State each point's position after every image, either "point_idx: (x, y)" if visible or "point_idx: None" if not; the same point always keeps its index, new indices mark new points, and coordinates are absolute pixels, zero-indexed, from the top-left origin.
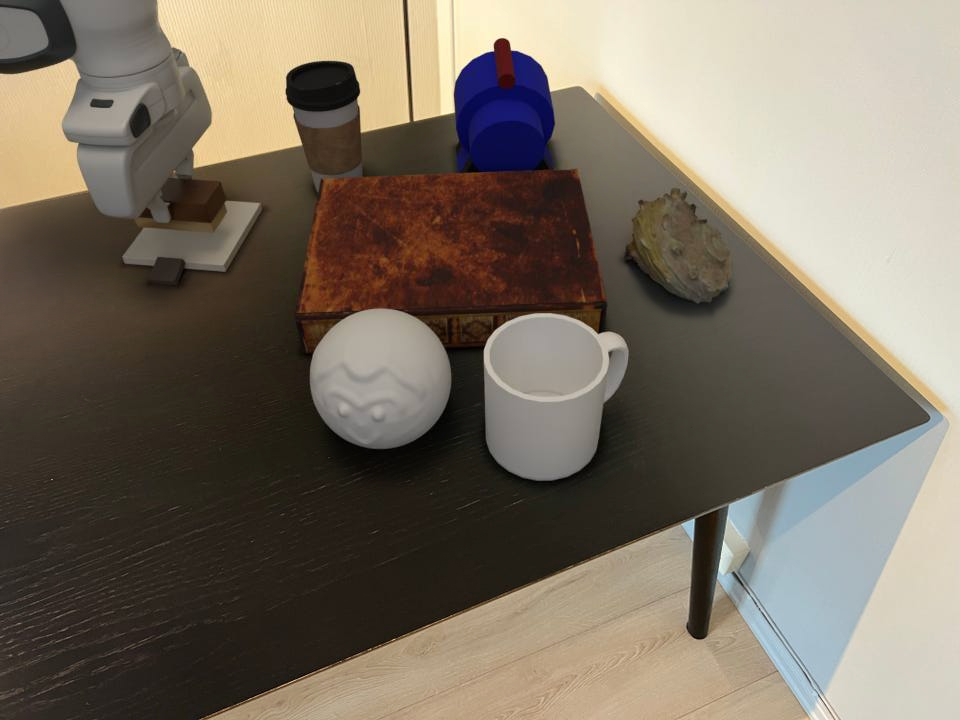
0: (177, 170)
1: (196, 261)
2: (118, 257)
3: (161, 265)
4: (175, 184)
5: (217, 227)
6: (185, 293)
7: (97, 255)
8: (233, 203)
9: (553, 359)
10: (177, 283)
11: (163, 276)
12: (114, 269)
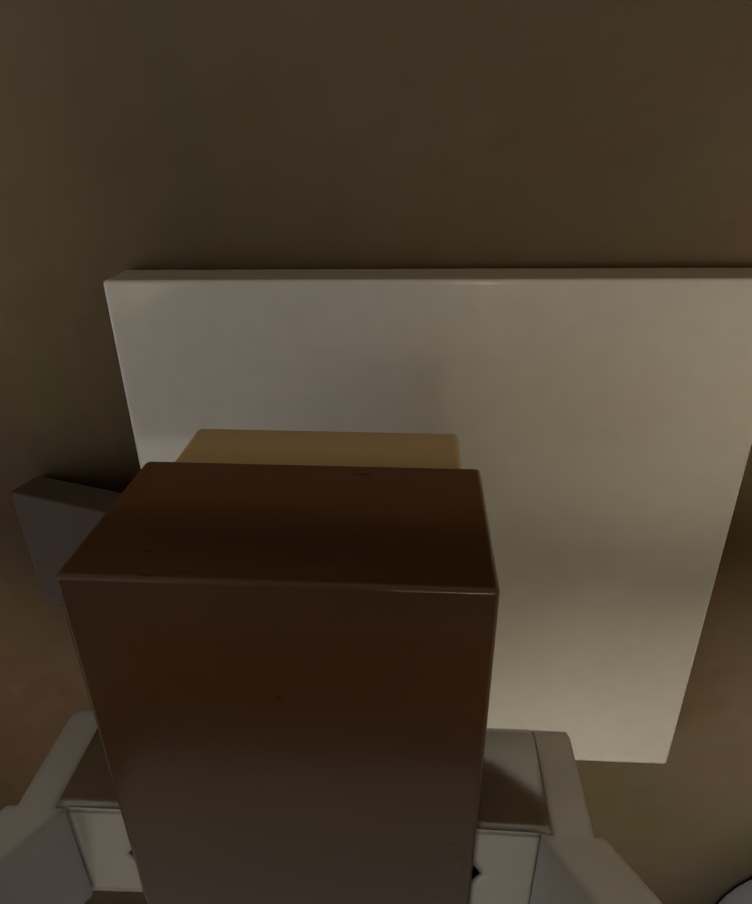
0: (561, 883)
1: None
2: (167, 195)
3: None
4: (373, 878)
5: None
6: (39, 622)
7: (145, 27)
8: (670, 666)
9: None
10: None
11: (44, 557)
12: (63, 229)
